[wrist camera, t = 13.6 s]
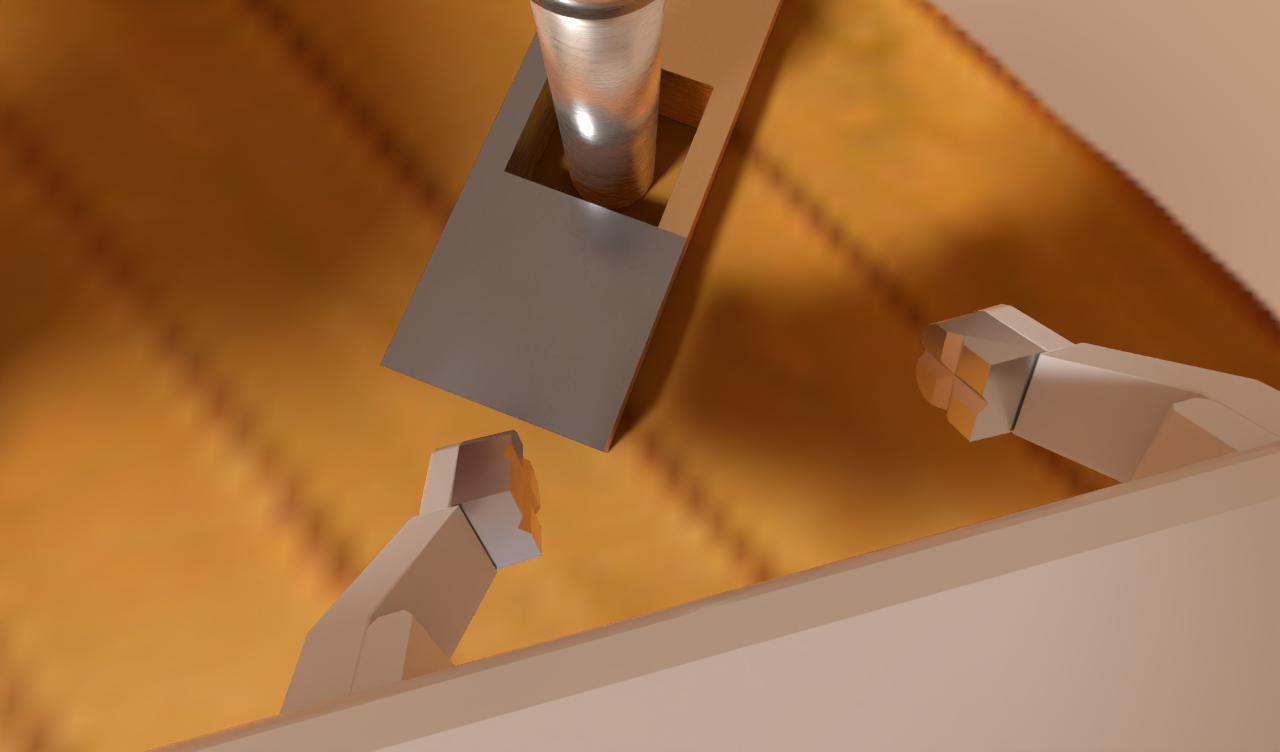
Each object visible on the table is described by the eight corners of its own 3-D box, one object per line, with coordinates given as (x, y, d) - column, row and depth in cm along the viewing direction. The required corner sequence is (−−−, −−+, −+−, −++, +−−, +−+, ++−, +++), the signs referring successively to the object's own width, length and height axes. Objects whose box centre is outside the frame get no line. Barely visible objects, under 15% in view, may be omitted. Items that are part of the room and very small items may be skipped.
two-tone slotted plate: (607, 452, 18) (603, 451, 16) (412, 377, 19) (380, 364, 16) (789, -16, 21) (809, -75, 19) (618, -73, 22) (616, -139, 19)
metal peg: (642, 234, 20) (649, 13, 10) (542, 197, 20) (453, -56, 10) (680, 141, 20) (721, -153, 10) (582, 106, 20) (534, -214, 11)
